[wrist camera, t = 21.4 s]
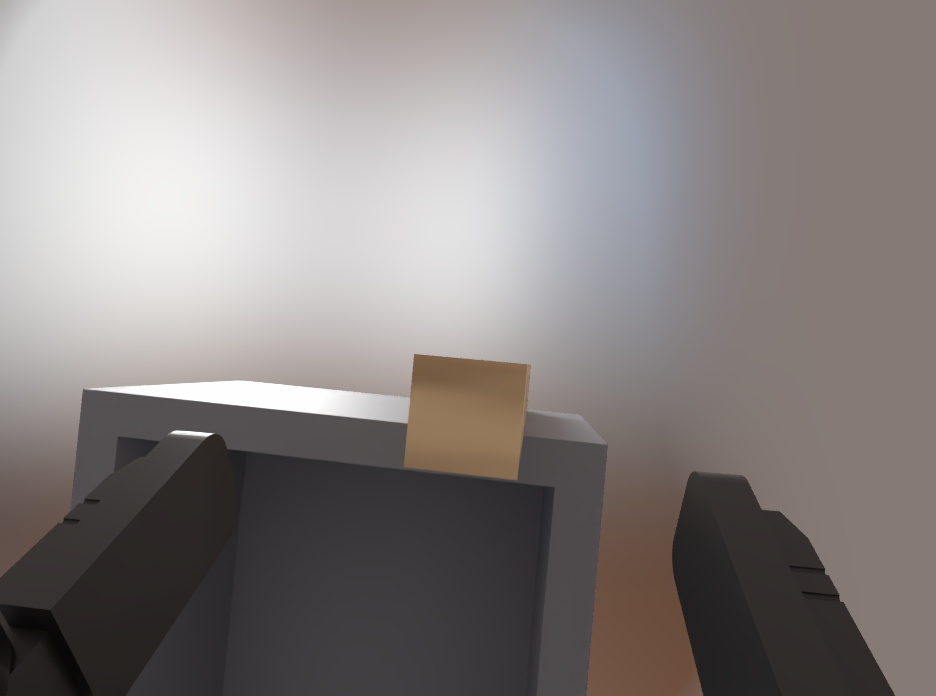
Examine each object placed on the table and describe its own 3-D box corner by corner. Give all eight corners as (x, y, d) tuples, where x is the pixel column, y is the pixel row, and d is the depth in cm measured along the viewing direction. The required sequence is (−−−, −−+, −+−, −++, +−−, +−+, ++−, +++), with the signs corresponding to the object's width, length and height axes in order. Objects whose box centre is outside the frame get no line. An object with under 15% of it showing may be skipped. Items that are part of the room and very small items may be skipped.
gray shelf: (539, 1240, 22) (607, 444, 23) (8, 1091, 25) (83, 388, 26) (537, 903, 36) (579, 414, 37) (195, 832, 39) (241, 380, 40)
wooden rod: (517, 480, 14) (527, 364, 14) (403, 466, 15) (414, 354, 15) (526, 410, 36) (530, 365, 36) (481, 406, 36) (485, 360, 37)
